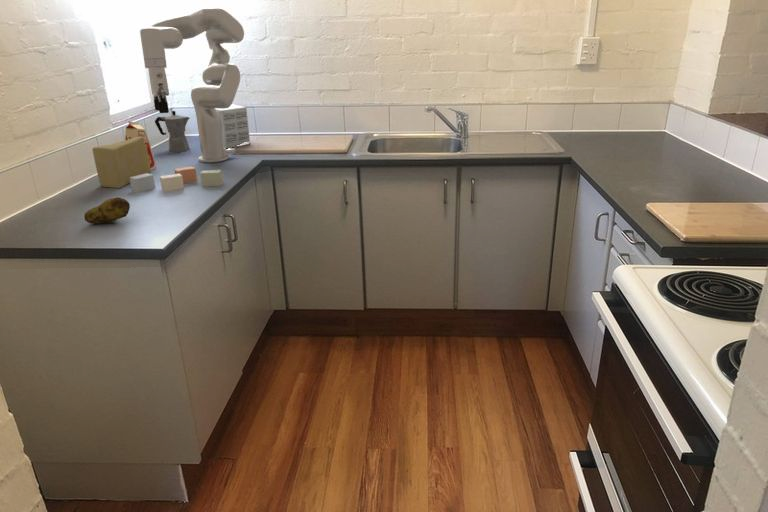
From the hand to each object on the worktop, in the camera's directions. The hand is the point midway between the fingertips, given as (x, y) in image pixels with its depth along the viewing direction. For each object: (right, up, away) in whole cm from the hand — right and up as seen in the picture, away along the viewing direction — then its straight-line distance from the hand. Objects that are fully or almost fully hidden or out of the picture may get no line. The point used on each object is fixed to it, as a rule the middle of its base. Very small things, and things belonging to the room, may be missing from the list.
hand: (161, 111), depth 215 cm
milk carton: (-16, -19, +20) cm, 32 cm away
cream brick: (+7, -30, -7) cm, 32 cm away
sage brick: (+20, -28, -2) cm, 34 cm away
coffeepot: (-13, -5, +52) cm, 54 cm away
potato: (0, -45, -40) cm, 60 cm away
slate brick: (-4, -30, -7) cm, 31 cm away
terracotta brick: (+9, -26, +2) cm, 28 cm away
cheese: (-14, -25, +5) cm, 30 cm away
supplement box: (+9, 0, +63) cm, 64 cm away
